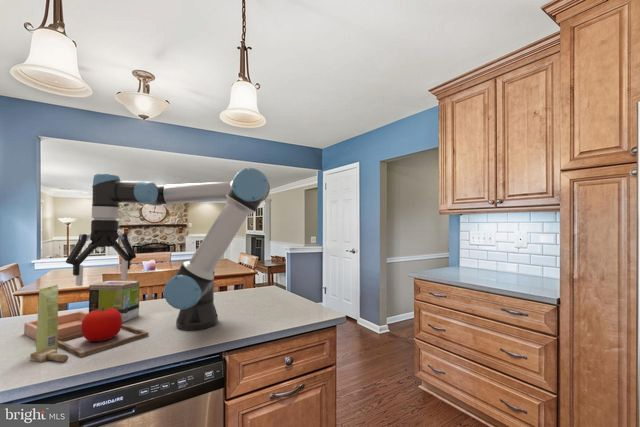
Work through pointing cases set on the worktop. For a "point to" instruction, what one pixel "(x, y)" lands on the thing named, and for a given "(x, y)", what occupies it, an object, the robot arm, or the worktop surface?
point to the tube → (47, 319)
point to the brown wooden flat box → (59, 325)
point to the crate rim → (103, 347)
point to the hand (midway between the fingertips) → (102, 282)
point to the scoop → (48, 355)
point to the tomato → (101, 324)
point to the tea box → (116, 297)
